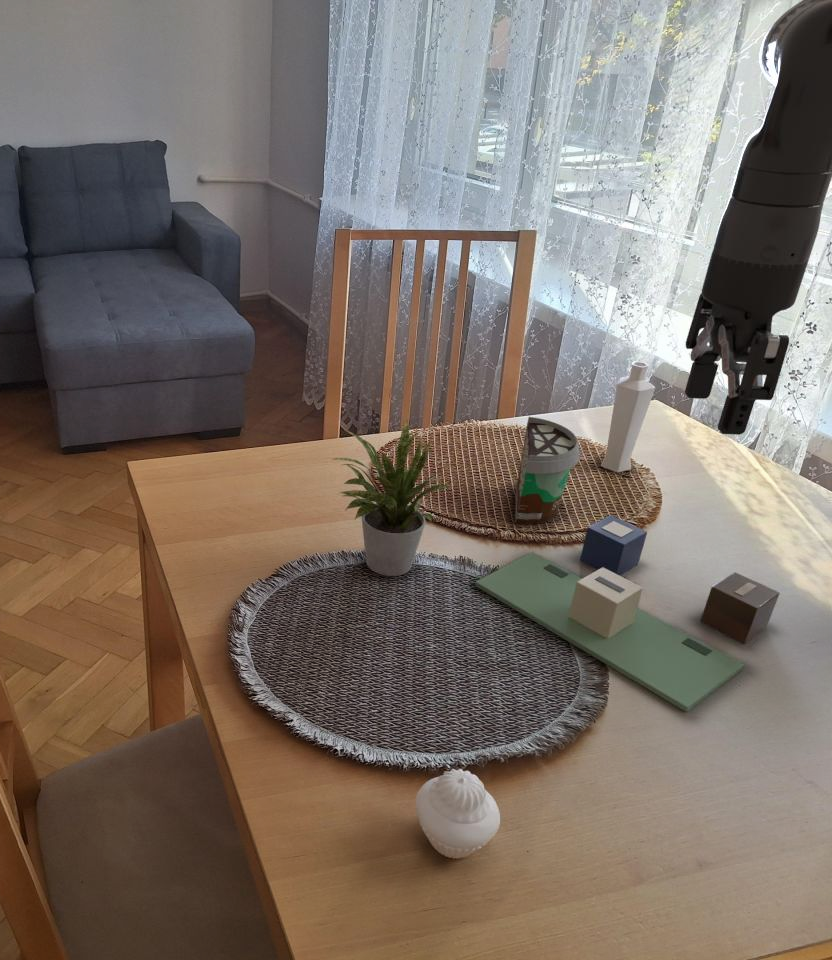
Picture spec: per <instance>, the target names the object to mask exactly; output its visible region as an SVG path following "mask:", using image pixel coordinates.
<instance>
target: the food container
mask: <svg viewBox="0 0 832 960" xmlns="http://www.w3.org/2000/svg"><path fill="white" fill-rule="evenodd" d="M523 440H524V441H523V447H522V452H521V458H520V463H519V469H518V474H517V480H516V486H515V523H514V524H519V525H538V524H543V523H547V522H549V521H551V520H552V519H554V518H555V517H556V515H557V514H558V512H559V508H560V504H561V501H562V498H563V495H564V492H565V487H566V485H567V481H568V478H569V476H570V472H571V469H572V468H573V467H575V466H576V465H577V464H578V463H579V461H580V445H579V441H578V438H577V436H576V435H575V433H574V432H573V431H571V429H569V428H568V427H565V426H563V425H561V424H559V423H557V422H554V421H551V420H549V419H544V418H540V417H533V416H528V418H527V422H526V427H525V434H524V439H523Z"/></svg>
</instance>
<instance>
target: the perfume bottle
mask: <svg viewBox="0 0 832 960" xmlns="http://www.w3.org/2000/svg"><path fill="white" fill-rule="evenodd" d="M648 368H650V365H649V364H648V363H646V362H645V361H634V360H633V361H632V362H631V369H630V372H629V375H626V376H622V377H620V378H619V380H618V382H617V384H616V389H615V396H614V401H613V407H612V408H613V409H612V414H611V421H610V427H609V432H608V439H607V445H606V451H605V456H604V458H603V459H602V461H601V464H600V467H602V468H604V469H607V470H609V471H612V472H614V473H621V472H625V471H630V470H632V464H631V463H632V462H631V458H632V455H633V452H634V450H635V447H636V443H637V441H638V438H639V435H640V432H641V429H642V427H643V424H644V420H645V418H646V415H647V412H648V410H649V407H650V404H651V400H652V398H653V395H654V392H655V390H656V386H654V384H652V383H651V382H649V380H647V379H646V376H647V373H648V370H649V369H648Z"/></svg>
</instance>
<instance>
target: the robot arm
mask: <svg viewBox="0 0 832 960" xmlns="http://www.w3.org/2000/svg"><path fill="white" fill-rule="evenodd" d="M759 64H760V68H761V70H762V73H763V75H764V76H765V78H766V79H767V80H768V81H769V82H770V83H771V84H773V85H774V86H775V88H774V90H773V92H772V95H771V99H770V103H769V105H768V108H767V110H766V113H765V117H764V119H763V123H762V125H761V126H760V128H758V129H756V130H755V131H754V132H753V133H752V134H751V135H750V136H749V137H748V139H747V140H746V142H745V145H744V147H743V149H742V153H741V156H740V160H739V163H738V166H737V170H736V174H735V177H734V181H733V185H732V189H731V192H730V197H729V199H728V202H727V205H726V207H725V209H724V212H723V214H722V216H721V219H720V222H719V224H718V229H717V232H716V237H715V239H714V243H713V247H712V251H711V255H710V257H709V262H708V266H707V270H706V273H705V277H704V279H703V280H704V281H703V284H702V288H701V292H700V294H699V296H698V300H697V303H696V306H695V309H694V314H693V317H692V320H691V322H690V327H689V329H688V333H687V337H686V340H685V348H686V349H687V350H691V351H690V361H692V364H691V367H690V371H689V375H688V378H687V382H686V385H685V390H684V394H685V396H686V397H687V398H689V399H696V400H698V399H699V400H701V399H702V400H705V399H708V398H709V397H710V395H711V393H712V390H713V386H714V382H715V379H716V376H717V372H718V368H719V364H718V363H717V362H719V361H721V372H722V373H723V374H724V375H726V377H727V391H728V392H727V395H726V397H725V400H724V403H723V407H722V410H721V414H720V417H719V421H718V424H717V430H718V431H719V432H720V433H721V434H723V435H736V436H737V435H738V436H739V435H742V434H744V433H745V432H746V430H747V426H748V424H749V420H750V418H751V414H752V411H753V408H754V405H755V402H756V401H772V400H773V398H774V396H775V392H776V389H777V386H778V382H779V378H780V375H781V372H782V368H783V365H784V362H785V359H786V354H787V352H788V348H789V344H790V337H789V336H788V335H787V334H774V333H772V326H773V325H772V324H773V317H774V316H775V315H776V314H778V313H780V312H781V311H786V310H789V309H790V308H791V307H793V306H794V305H795V303H796V300H797V298H798V294H799V292H800V289H801V286H802V282H803V280H804V276H805V273H806V270H807V267H808V263H809V261H810V257H811V254H812V251H813V248H814V245H815V242H816V239H817V236H818V233H819V228H820V223H821V217H822V212H823V207H824V202H825V200H826V196H827V194H828V190H829V187H830V185H831V181H832V0H801V1H799V2H798V3H796V4H795V5H793V6H792V7H791V8H789V9H788V10H787V11H785V12H784V13H782V15H781V16H779V18H777V20H776V21H775V22H774V23H773V24H772V26H771V27H770V28H769V30H768V31H767V33H766V34H765V36H764V39H763V41H762V44H761V47H760V51H759ZM700 331H701V332H700ZM741 375H742V378H741ZM764 376H765V378H763V377H764ZM763 379H764V380H763Z"/></svg>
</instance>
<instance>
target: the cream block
mask: <svg viewBox="0 0 832 960" xmlns="http://www.w3.org/2000/svg"><path fill="white" fill-rule="evenodd" d="M643 589H644V588H643V586H641V585H638V584H637V583H635V582H633V581H631V580H629V579H627V578H625V577H623V576H621V575H620V576H619V575H617V574H615V573H613V572H611V571H609V570H607V569H605V568H603V567H602V568H600V569H596V570H595V571H593V572H591V573H589V574H588V575H587V576H585V577H583V578H582V579H581V580H579V581H578V582H577V583H576V587H575V591H574V596H573V600H572V604H571V608H570V612H569V617H570V618H572V619H573V620H575V621H577V622H579V623H580V624H582V625H584V626H585V627H587V628H589V629H591V630H592V631H594V632H596V633H598V634H599V635H601V636H603V637H605V638H606V639H608V638H610V637H611V636H613V635H615V634H616V633H618V632H619V631H621V630H622V629H624V628H626V627H627V626H629V625H630V624H632V623H633V621H634V617H635V614H636V610H637V608H639V603H640V600H641V596H642V592H643Z"/></svg>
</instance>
